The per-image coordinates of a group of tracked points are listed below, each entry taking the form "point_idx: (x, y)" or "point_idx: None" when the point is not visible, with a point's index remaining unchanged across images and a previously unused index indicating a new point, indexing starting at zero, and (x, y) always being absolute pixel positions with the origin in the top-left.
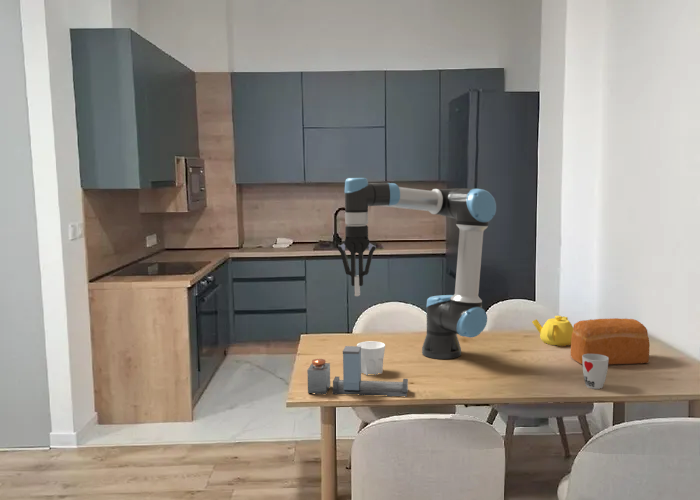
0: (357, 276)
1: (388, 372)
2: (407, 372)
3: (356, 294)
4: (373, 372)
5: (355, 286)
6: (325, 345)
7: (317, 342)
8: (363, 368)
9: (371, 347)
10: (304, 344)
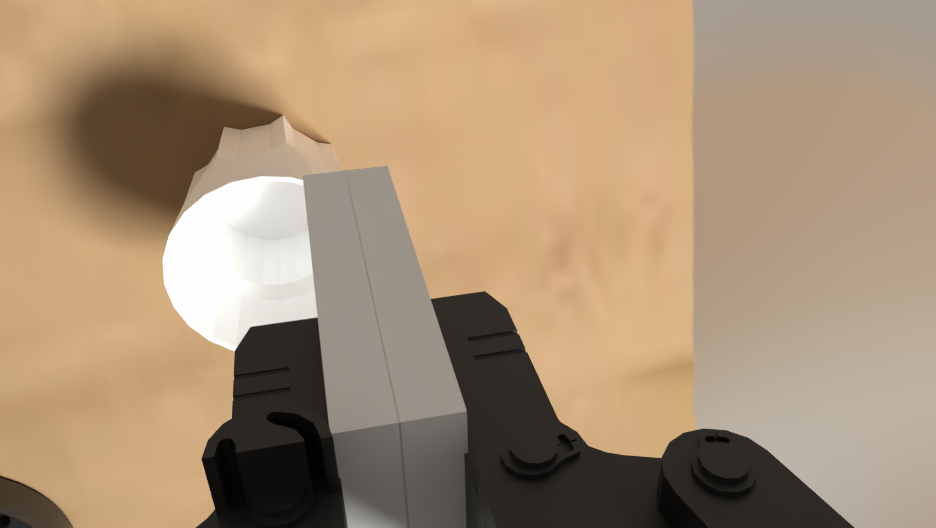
0: (391, 481)
1: (160, 194)
2: (37, 218)
3: (356, 182)
4: (240, 135)
5: (396, 261)
6: None
7: None
8: (310, 149)
9: (292, 320)
10: None
